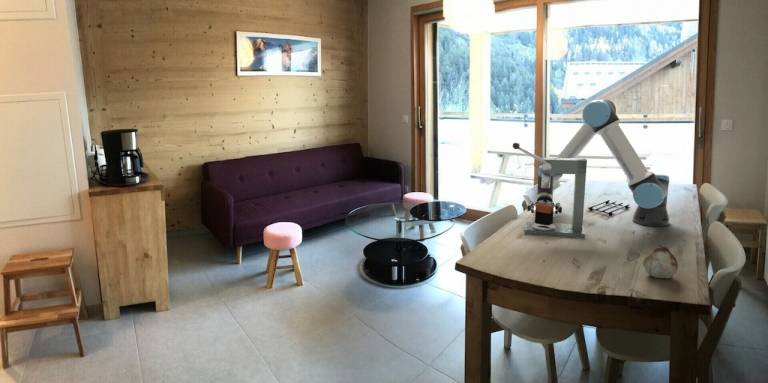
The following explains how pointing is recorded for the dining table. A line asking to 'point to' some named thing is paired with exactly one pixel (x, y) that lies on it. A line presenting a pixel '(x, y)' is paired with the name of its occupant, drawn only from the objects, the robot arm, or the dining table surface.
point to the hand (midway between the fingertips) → (544, 213)
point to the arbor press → (576, 228)
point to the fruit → (661, 263)
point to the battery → (544, 213)
